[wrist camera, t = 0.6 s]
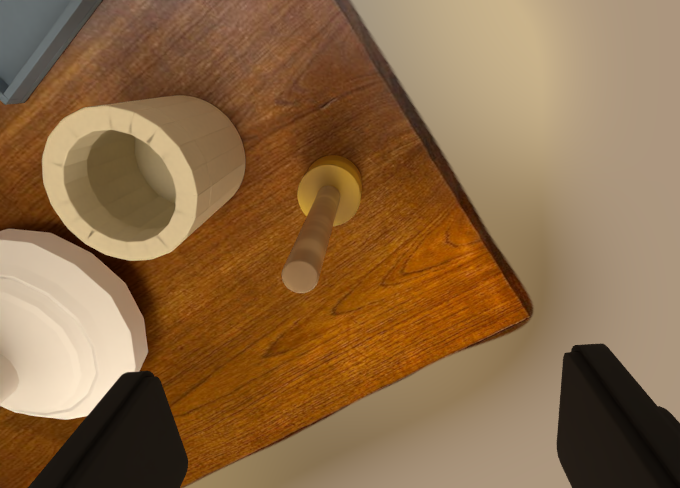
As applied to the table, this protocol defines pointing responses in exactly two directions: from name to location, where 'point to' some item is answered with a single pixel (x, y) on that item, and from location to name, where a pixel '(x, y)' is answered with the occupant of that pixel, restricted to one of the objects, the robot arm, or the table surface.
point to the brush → (321, 217)
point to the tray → (35, 41)
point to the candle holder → (62, 326)
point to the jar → (142, 172)
